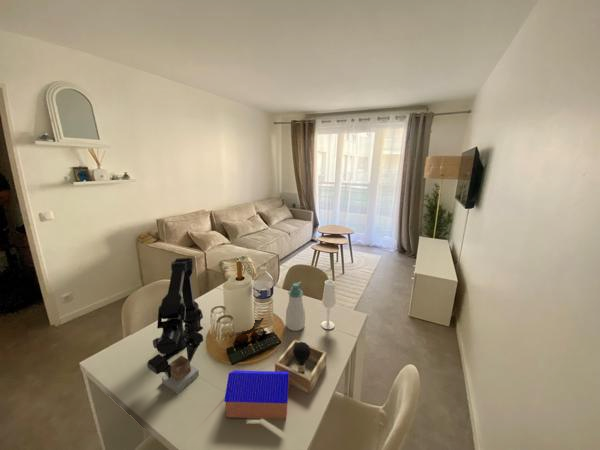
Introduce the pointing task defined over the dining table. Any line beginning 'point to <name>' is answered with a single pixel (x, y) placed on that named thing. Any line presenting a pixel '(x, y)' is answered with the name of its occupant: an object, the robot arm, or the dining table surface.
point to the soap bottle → (295, 309)
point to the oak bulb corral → (299, 378)
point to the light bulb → (301, 354)
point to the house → (257, 394)
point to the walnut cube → (180, 367)
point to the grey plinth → (181, 384)
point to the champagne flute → (328, 301)
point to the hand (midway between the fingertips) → (179, 369)
